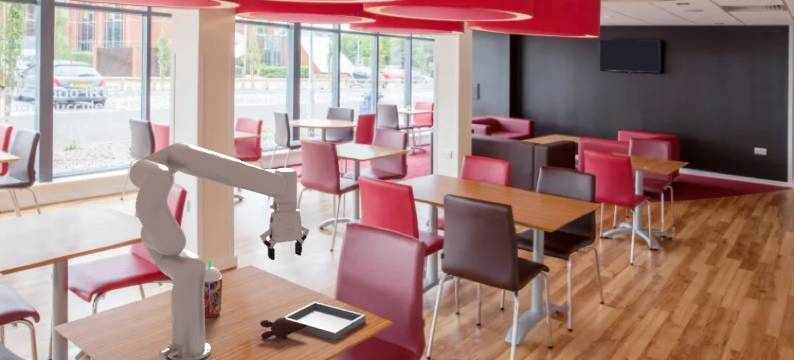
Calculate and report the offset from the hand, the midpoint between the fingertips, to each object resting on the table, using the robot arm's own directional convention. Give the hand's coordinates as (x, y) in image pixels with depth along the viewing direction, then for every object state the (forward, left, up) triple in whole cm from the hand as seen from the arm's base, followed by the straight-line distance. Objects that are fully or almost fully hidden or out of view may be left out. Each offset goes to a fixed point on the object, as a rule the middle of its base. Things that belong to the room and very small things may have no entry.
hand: (285, 256), depth 216 cm
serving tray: (+8, -10, -24) cm, 27 cm away
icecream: (-8, -6, -24) cm, 26 cm away
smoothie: (-8, +27, -24) cm, 37 cm away
